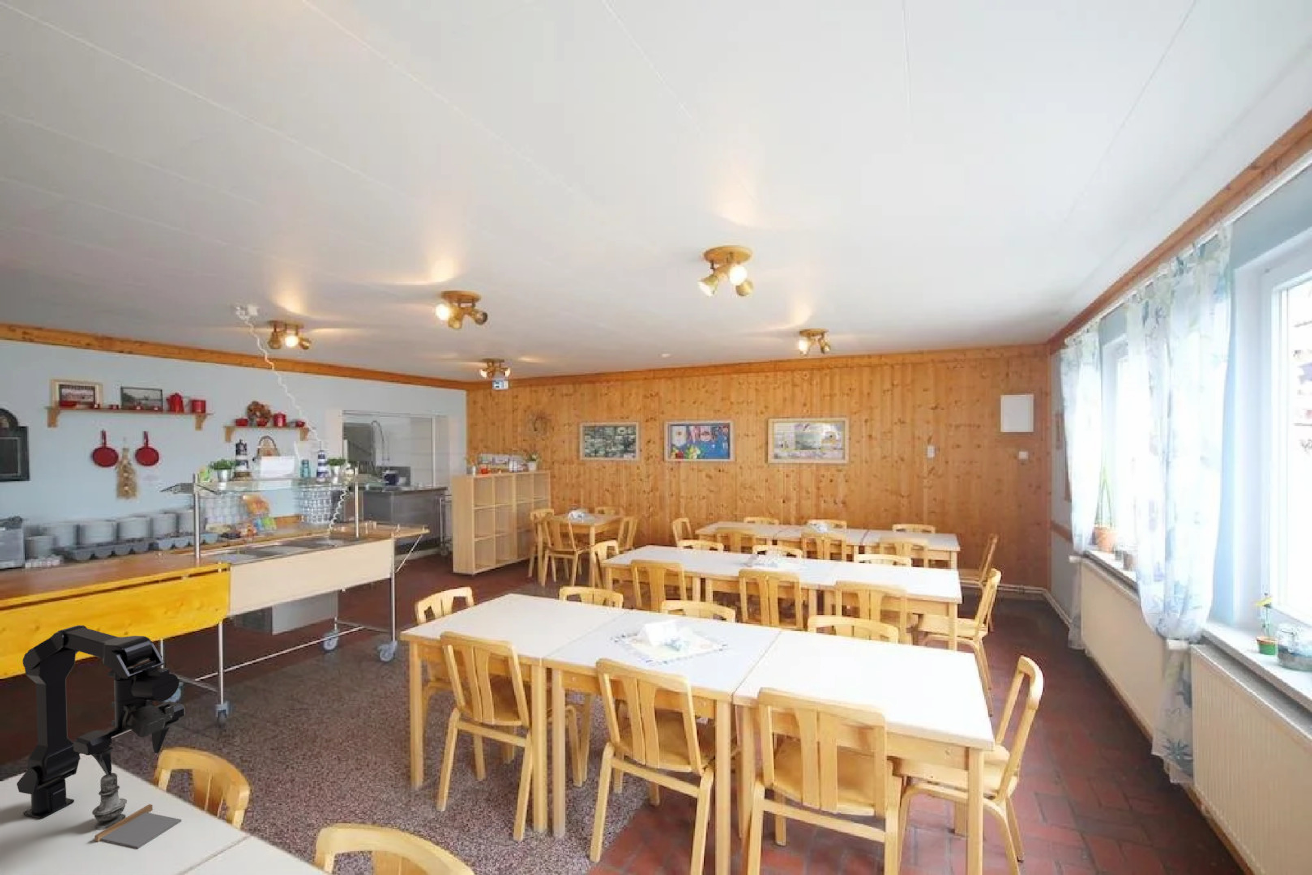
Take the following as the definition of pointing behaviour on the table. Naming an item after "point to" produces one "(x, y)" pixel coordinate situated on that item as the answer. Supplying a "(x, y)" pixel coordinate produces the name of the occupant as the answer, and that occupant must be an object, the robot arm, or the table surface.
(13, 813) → the table surface
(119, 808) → the stone baluster finial
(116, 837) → the mat
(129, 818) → the kerb
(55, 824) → the table surface
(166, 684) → the robot arm
